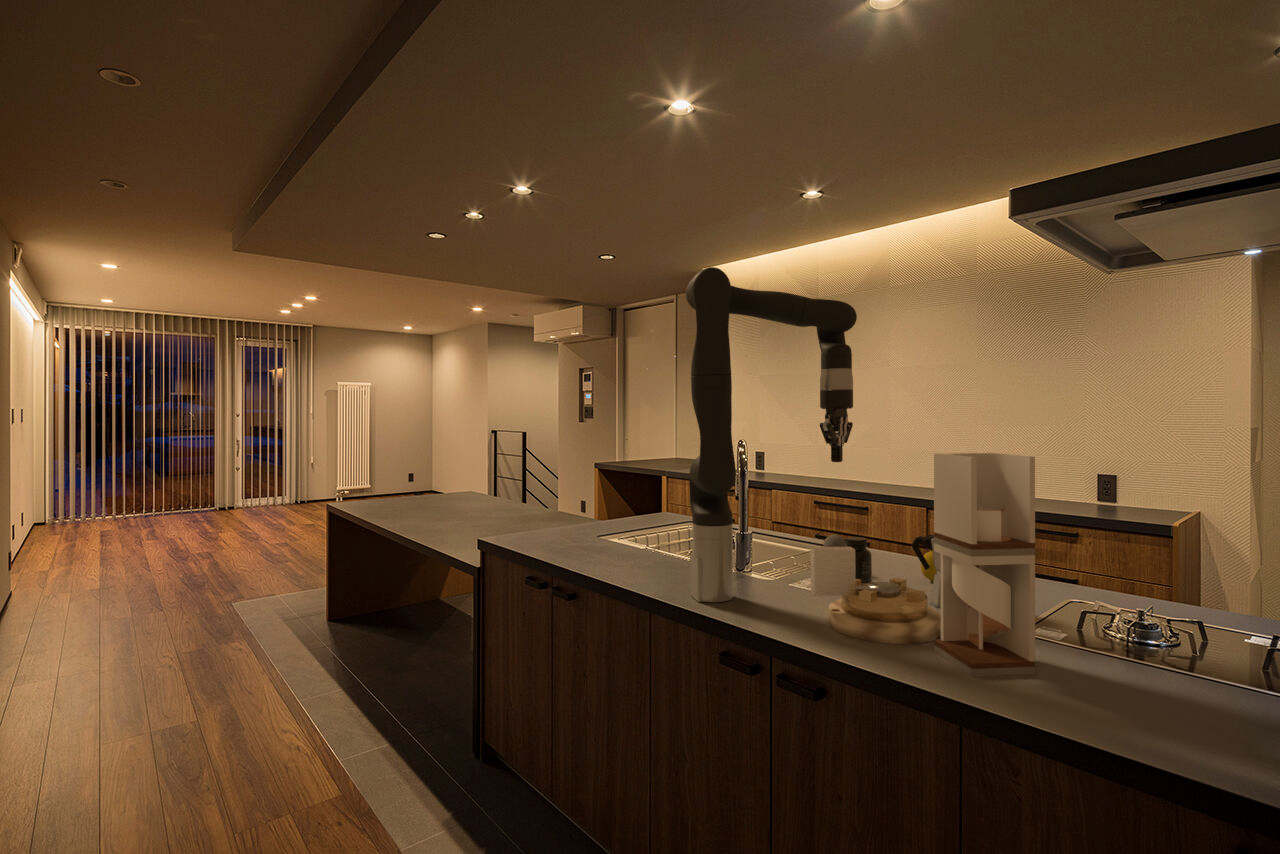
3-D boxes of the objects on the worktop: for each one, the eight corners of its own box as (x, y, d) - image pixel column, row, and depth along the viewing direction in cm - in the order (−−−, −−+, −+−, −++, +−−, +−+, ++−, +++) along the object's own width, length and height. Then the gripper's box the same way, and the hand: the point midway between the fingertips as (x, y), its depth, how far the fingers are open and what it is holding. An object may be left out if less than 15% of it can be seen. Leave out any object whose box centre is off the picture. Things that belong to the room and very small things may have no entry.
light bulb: (847, 570, 177) (847, 533, 177) (845, 575, 172) (844, 537, 172) (825, 568, 180) (825, 532, 180) (821, 573, 175) (821, 535, 174)
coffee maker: (989, 606, 143) (988, 524, 142) (976, 615, 136) (976, 529, 136) (919, 594, 153) (918, 517, 153) (904, 602, 146) (904, 522, 146)
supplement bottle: (868, 584, 163) (867, 536, 163) (875, 591, 156) (875, 541, 156) (839, 583, 163) (839, 535, 163) (845, 590, 157) (845, 540, 157)
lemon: (943, 580, 166) (943, 548, 166) (945, 585, 161) (945, 553, 161) (919, 578, 168) (919, 547, 168) (921, 583, 163) (921, 551, 162)
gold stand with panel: (908, 598, 138) (908, 540, 138) (942, 621, 122) (941, 556, 122) (803, 598, 138) (803, 540, 138) (823, 622, 122) (823, 556, 122)
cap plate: (865, 648, 117) (865, 630, 117) (810, 614, 138) (809, 599, 138) (966, 638, 122) (966, 621, 122) (898, 607, 143) (898, 592, 142)
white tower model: (934, 651, 116) (933, 453, 115) (991, 649, 117) (991, 452, 116) (971, 676, 105) (971, 457, 104) (1035, 673, 105) (1034, 456, 105)
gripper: (834, 390, 162) (834, 460, 162) (808, 388, 152) (808, 462, 153) (863, 388, 157) (863, 461, 157) (838, 387, 147) (839, 464, 147)
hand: (836, 461), depth 155 cm, fingers closed
